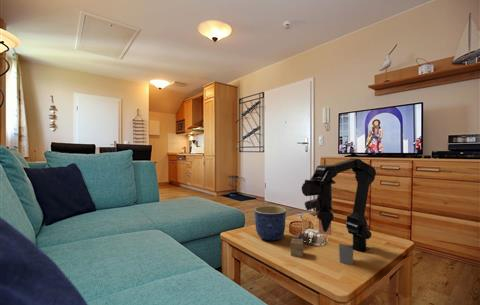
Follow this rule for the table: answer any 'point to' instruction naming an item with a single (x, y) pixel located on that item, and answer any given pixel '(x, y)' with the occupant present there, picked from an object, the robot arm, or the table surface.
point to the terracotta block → (322, 229)
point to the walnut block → (297, 247)
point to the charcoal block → (346, 254)
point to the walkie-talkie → (303, 237)
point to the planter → (270, 222)
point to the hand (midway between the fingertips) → (324, 229)
